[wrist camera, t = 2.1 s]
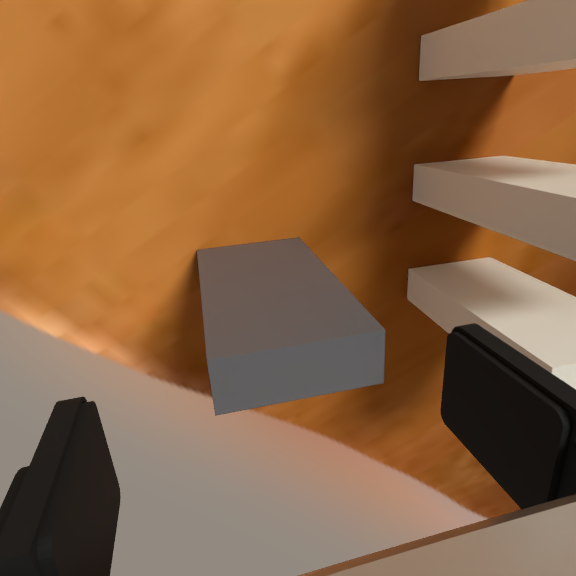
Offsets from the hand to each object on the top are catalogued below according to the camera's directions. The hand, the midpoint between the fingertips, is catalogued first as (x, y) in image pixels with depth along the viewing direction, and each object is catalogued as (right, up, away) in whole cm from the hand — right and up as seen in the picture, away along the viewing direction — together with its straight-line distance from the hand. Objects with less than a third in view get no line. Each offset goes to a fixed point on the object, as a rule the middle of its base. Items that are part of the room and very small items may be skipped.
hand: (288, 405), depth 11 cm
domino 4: (+9, +4, +13) cm, 16 cm away
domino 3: (+9, +9, +11) cm, 16 cm away
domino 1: (-2, +4, +10) cm, 11 cm away
